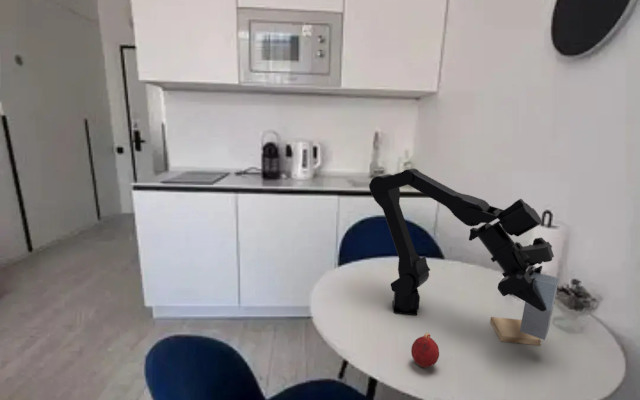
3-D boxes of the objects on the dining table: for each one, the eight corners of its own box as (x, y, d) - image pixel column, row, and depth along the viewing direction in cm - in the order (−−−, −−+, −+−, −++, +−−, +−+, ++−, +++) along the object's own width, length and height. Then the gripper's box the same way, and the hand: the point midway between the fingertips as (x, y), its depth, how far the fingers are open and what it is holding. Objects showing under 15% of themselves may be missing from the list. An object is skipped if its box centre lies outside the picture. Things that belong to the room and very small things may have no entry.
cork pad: (501, 341, 91) (502, 335, 91) (490, 321, 100) (490, 316, 100) (540, 345, 90) (541, 339, 90) (525, 325, 99) (526, 320, 99)
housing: (519, 331, 84) (529, 278, 81) (524, 322, 88) (533, 271, 85) (544, 340, 81) (555, 285, 78) (548, 330, 85) (559, 278, 82)
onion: (432, 379, 77) (437, 345, 75) (406, 369, 80) (409, 336, 78) (440, 364, 82) (444, 332, 80) (414, 355, 85) (418, 323, 83)
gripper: (524, 238, 74) (578, 307, 70) (540, 220, 89) (586, 277, 85) (477, 263, 81) (525, 328, 77) (499, 243, 95) (540, 297, 91)
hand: (546, 306), depth 82 cm, fingers closed on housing, 5 cm apart
